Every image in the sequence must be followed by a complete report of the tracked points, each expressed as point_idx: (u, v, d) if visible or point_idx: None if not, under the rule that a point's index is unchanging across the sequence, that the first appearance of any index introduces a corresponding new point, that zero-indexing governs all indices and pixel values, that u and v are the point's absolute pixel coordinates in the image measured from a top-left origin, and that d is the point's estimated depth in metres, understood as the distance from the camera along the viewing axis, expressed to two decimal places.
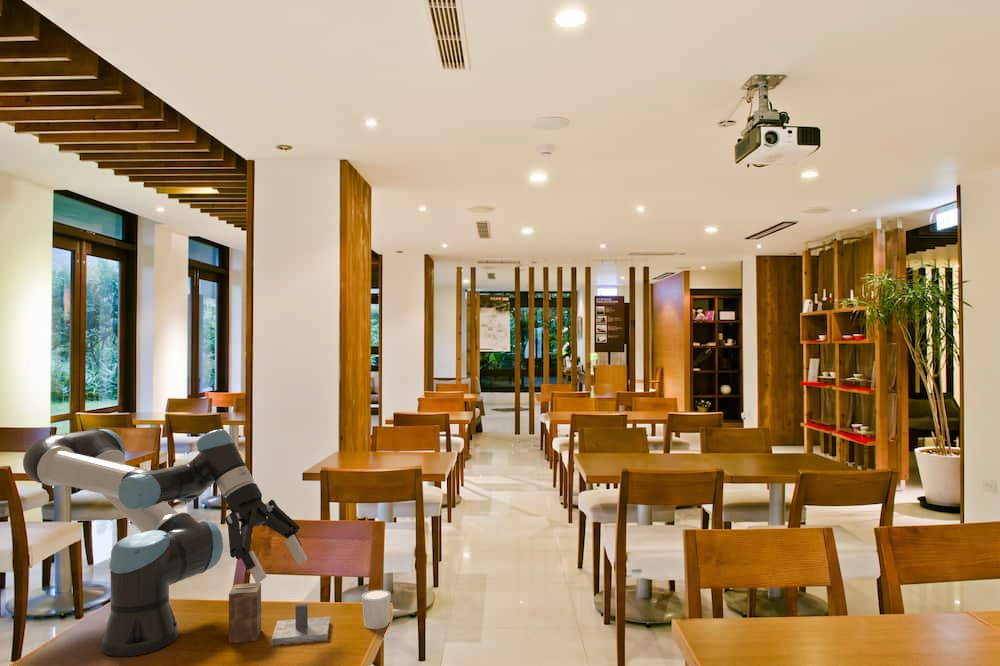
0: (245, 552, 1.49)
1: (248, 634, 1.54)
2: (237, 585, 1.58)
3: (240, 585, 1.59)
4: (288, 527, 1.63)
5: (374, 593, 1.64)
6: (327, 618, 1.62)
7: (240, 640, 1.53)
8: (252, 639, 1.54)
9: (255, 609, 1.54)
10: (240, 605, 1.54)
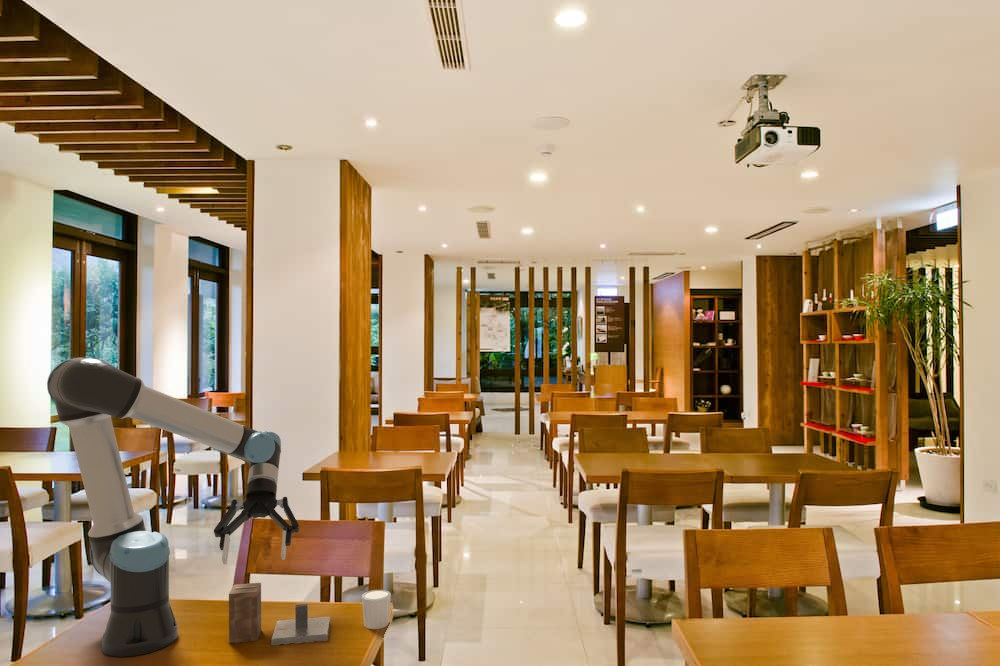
0: None
1: (248, 634, 1.54)
2: (237, 585, 1.58)
3: (240, 585, 1.59)
4: None
5: (374, 593, 1.64)
6: (327, 618, 1.62)
7: (240, 640, 1.53)
8: (252, 639, 1.54)
9: (255, 609, 1.54)
10: (240, 605, 1.54)
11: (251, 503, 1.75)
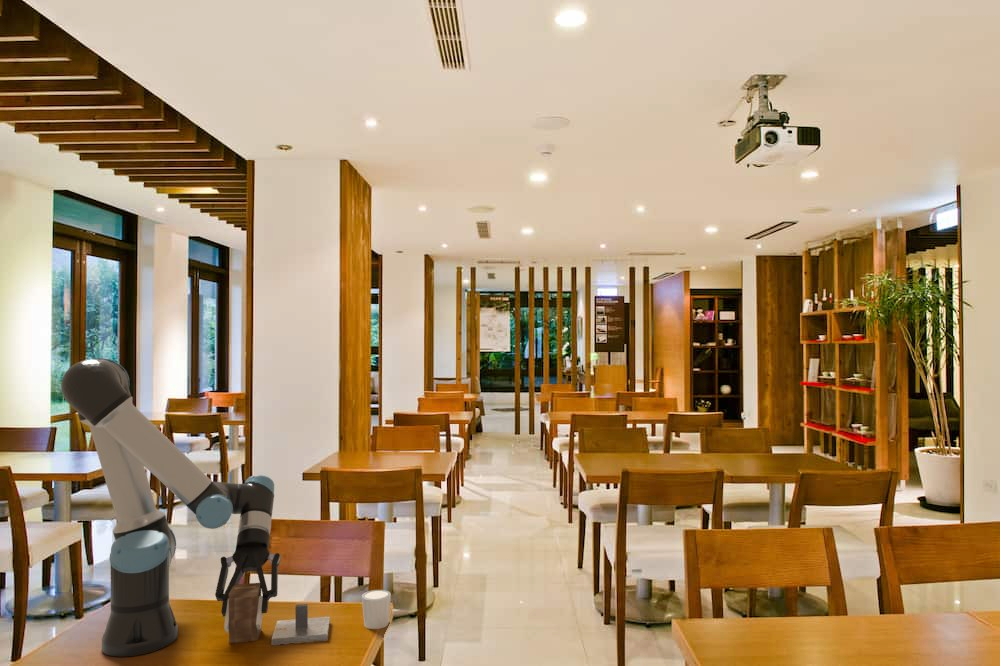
0: None
1: (248, 634, 1.54)
2: (237, 585, 1.58)
3: (240, 585, 1.59)
4: None
5: (374, 593, 1.64)
6: (327, 618, 1.62)
7: (240, 640, 1.53)
8: (252, 639, 1.54)
9: (255, 609, 1.54)
10: (240, 604, 1.54)
11: (242, 557, 1.63)
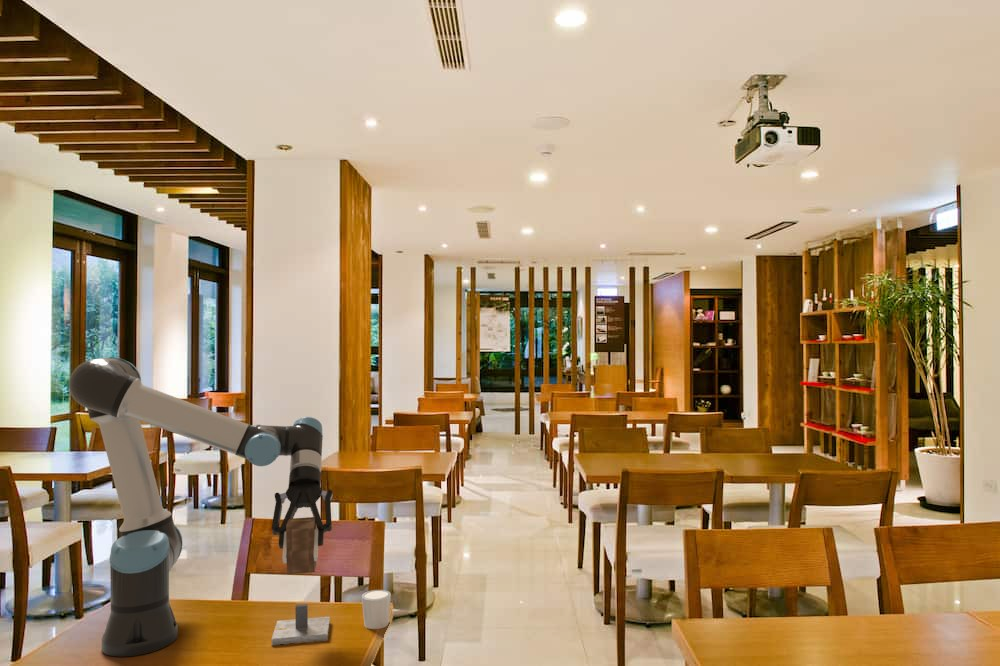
0: None
1: (305, 565, 1.55)
2: (292, 519, 1.60)
3: (295, 518, 1.60)
4: None
5: (374, 593, 1.64)
6: (327, 618, 1.62)
7: (298, 571, 1.55)
8: (309, 570, 1.55)
9: (312, 541, 1.56)
10: (297, 536, 1.55)
11: (296, 493, 1.64)
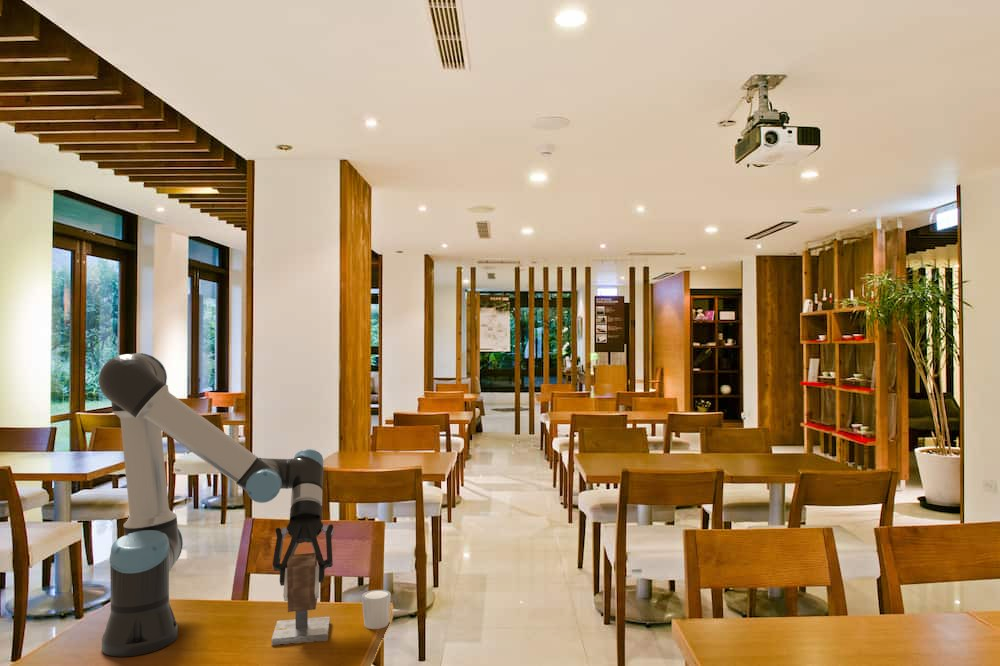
0: None
1: (306, 603, 1.55)
2: (293, 555, 1.60)
3: (296, 555, 1.60)
4: None
5: (374, 593, 1.64)
6: (327, 618, 1.62)
7: (299, 608, 1.55)
8: (310, 607, 1.55)
9: (313, 578, 1.56)
10: (298, 573, 1.55)
11: (297, 528, 1.64)
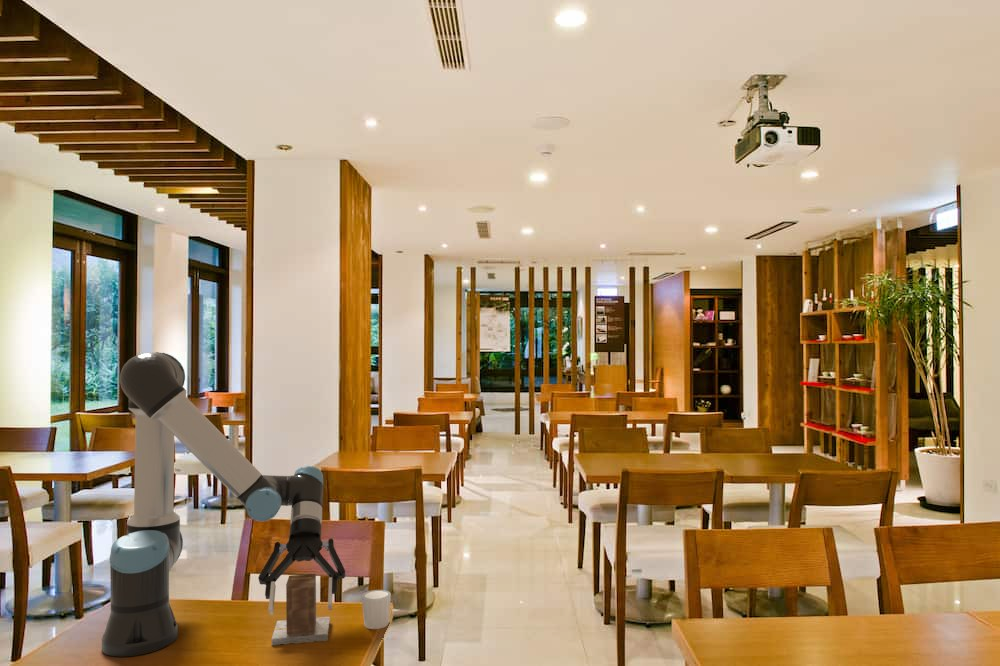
0: None
1: (305, 624, 1.55)
2: (292, 576, 1.60)
3: (296, 576, 1.60)
4: None
5: (374, 593, 1.64)
6: (327, 618, 1.62)
7: (297, 630, 1.55)
8: (309, 629, 1.55)
9: (312, 600, 1.55)
10: (297, 595, 1.55)
11: (296, 546, 1.64)
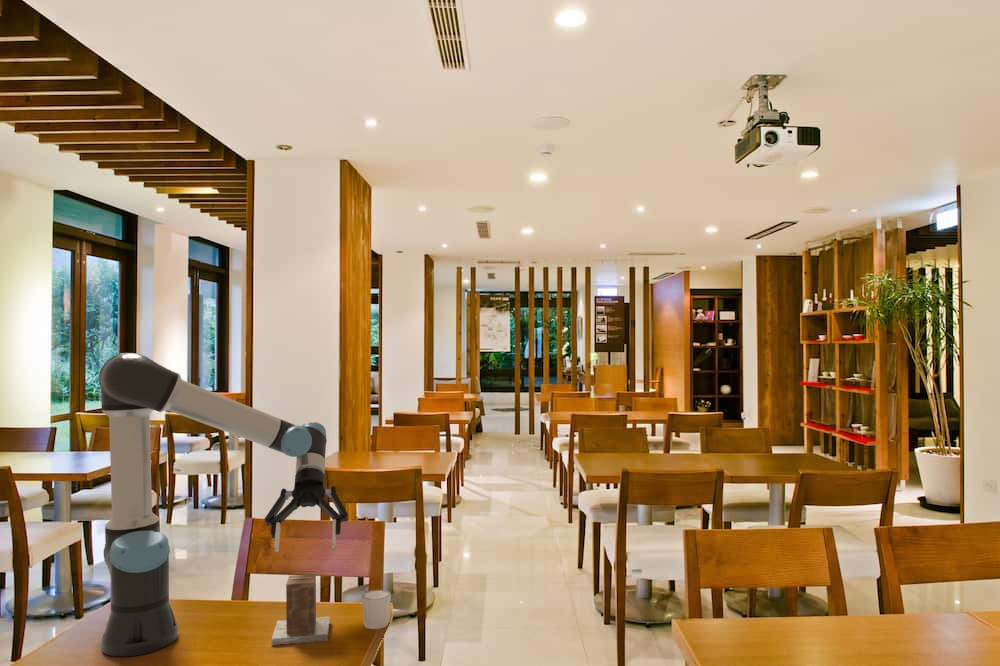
0: None
1: (305, 624, 1.55)
2: (292, 576, 1.60)
3: (296, 576, 1.60)
4: None
5: (374, 593, 1.64)
6: (327, 618, 1.62)
7: (297, 630, 1.55)
8: (309, 629, 1.55)
9: (312, 600, 1.55)
10: (297, 595, 1.55)
11: (300, 492, 1.77)
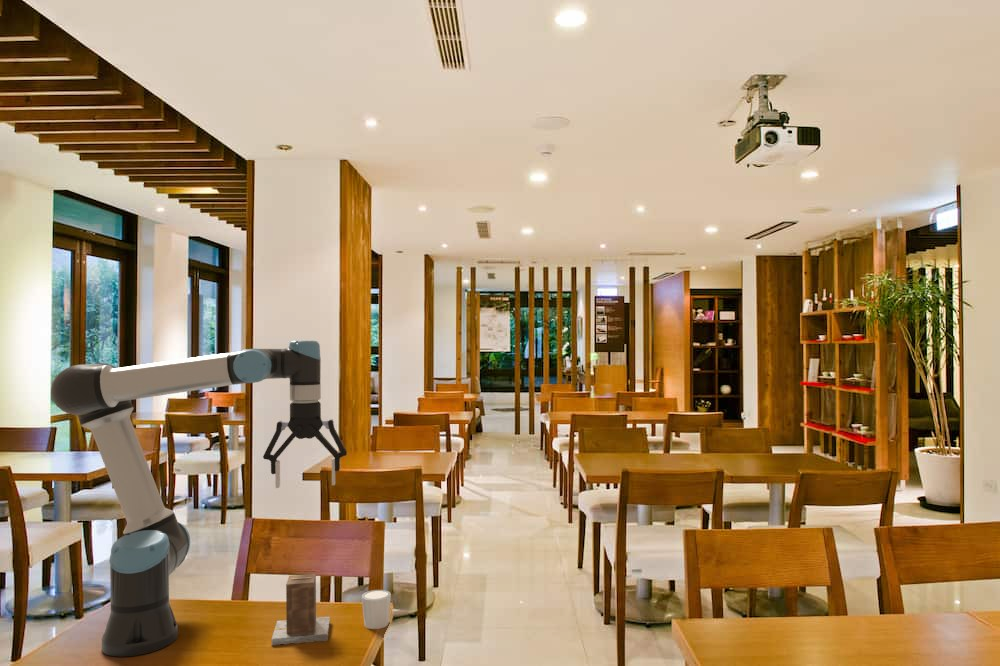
0: None
1: (305, 624, 1.55)
2: (292, 576, 1.60)
3: (296, 576, 1.60)
4: None
5: (374, 593, 1.64)
6: (327, 618, 1.62)
7: (297, 630, 1.55)
8: (309, 629, 1.55)
9: (312, 600, 1.55)
10: (297, 595, 1.55)
11: (297, 429, 1.71)
